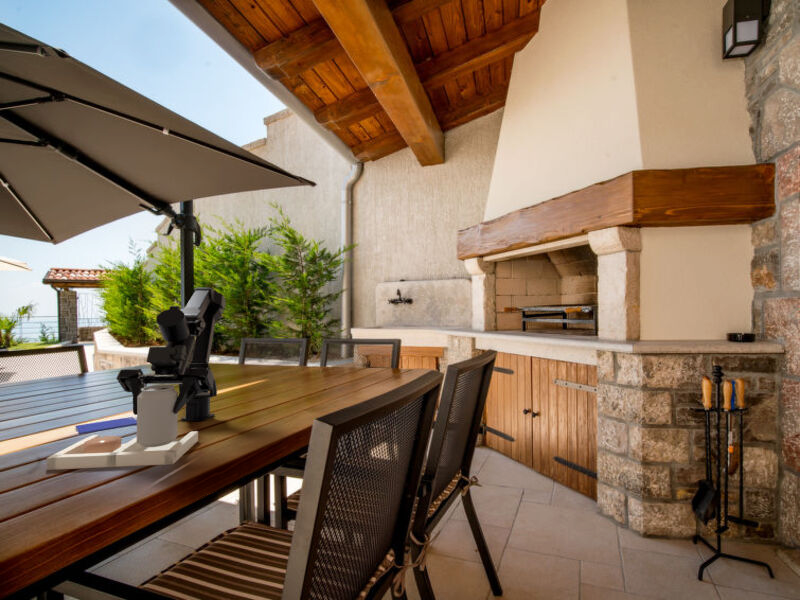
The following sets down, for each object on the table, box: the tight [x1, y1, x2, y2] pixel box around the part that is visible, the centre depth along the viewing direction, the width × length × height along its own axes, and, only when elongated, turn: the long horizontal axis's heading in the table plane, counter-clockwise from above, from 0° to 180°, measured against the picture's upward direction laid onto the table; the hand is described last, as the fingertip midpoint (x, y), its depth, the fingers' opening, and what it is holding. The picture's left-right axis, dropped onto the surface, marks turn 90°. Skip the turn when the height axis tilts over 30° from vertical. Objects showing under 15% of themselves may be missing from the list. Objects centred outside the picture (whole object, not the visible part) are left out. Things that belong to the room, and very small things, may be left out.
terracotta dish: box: [84, 435, 123, 454], centre depth 85 cm, size 6×6×3 cm
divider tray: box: [46, 430, 199, 471], centre depth 85 cm, size 14×23×3 cm, turn 98°
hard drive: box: [75, 416, 137, 435], centre depth 105 cm, size 2×8×12 cm
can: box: [136, 384, 179, 447], centre depth 86 cm, size 8×8×12 cm
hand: (154, 413), depth 85 cm, fingers closed on can, 7 cm apart
